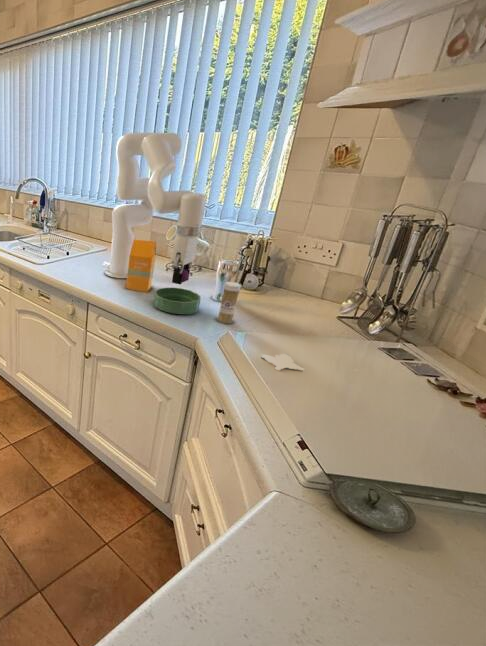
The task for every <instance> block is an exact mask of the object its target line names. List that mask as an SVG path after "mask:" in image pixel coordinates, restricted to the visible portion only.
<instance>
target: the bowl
mask: <svg viewBox="0 0 486 646" xmlns="http://www.w3.org/2000/svg"><path fill="white" fill-rule="evenodd" d="M201 300H202V299H201V295H199V293H197V292H195V291H192V290H191V289H185V288H182V287H181V288H180V287H161V288H158V289H156V290H155V291H154V297H153V306H154V307H155V309H158V310H160V311H162V312H166V313H169V314H175V315H191V314H195V313H197V312H198V311H199V309H200V304H201Z"/></svg>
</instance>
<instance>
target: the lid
mask: <svg viewBox="0 0 486 646" xmlns="http://www.w3.org/2000/svg"><path fill="white" fill-rule="evenodd" d="M333 480H334V479H333ZM333 480H332V481H331V483H330V485H329V494H330V497H331V500H332V501H333V503H334V505H335V506H336V507H337V508H338V510H340V511H341V512H342V514H345V515H346V516H348V517H349V518H350V519H352V520H354V521H355V522H357V523H359V524H361V525H363V526H365V527H368V528H370V529H372V530H376V531H378V532H382V533H390V534H400V533H406V532H408V531H411V530H412V529H413V528H414V527H415V526H416V522H417V518H416V515H415V512H414V510H413V508H411V506H410V505H409V504H408V503H407V501H405V500H404V499H403V498H402V497H400V495H398V493H396V492H395V491H392V490H391V489H389V488H387V487H385V486H384V485H382V484H380V485H378V484H379V483H378V484H373V483H371V484H370V483H352V482H347V481H339V480H337V481H335V480H334V481H333Z"/></svg>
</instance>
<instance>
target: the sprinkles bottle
mask: <svg viewBox="0 0 486 646" xmlns="http://www.w3.org/2000/svg"><path fill="white" fill-rule="evenodd" d="M241 287H242V285H241V284H240V283H238V282H236V281H235V282H226V283H225V286H224V293H223V297H222V302H220V307H219V311H218V315H217V321H218V322H219V323H222V324H232V322H233V319H234V314H235V311H236V306H237V302H238V297H239V294H240V291H241Z"/></svg>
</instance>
